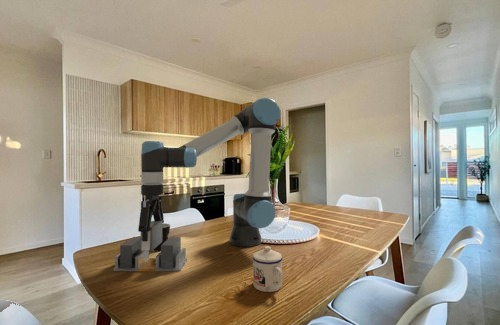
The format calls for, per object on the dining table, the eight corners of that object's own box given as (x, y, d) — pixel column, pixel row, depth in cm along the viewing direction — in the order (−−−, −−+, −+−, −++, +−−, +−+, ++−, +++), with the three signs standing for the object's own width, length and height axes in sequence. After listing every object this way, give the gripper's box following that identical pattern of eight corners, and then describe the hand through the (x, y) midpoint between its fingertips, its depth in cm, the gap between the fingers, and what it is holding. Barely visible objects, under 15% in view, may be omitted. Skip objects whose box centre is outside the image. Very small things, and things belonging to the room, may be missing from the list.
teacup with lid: (247, 282, 78) (247, 245, 78) (271, 276, 82) (271, 240, 82) (268, 301, 67) (268, 257, 67) (294, 292, 72) (294, 252, 72)
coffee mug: (163, 252, 104) (163, 228, 104) (144, 251, 106) (145, 227, 106) (177, 244, 115) (177, 222, 115) (160, 242, 117) (160, 221, 117)
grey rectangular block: (162, 241, 95) (162, 220, 96) (152, 250, 85) (152, 227, 86) (151, 241, 95) (151, 220, 96) (140, 250, 85) (140, 227, 86)
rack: (187, 260, 95) (187, 236, 96) (179, 271, 85) (180, 245, 86) (127, 260, 95) (127, 236, 95) (112, 271, 85) (112, 245, 85)
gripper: (153, 181, 102) (153, 236, 102) (126, 186, 79) (126, 256, 79) (172, 181, 102) (172, 236, 102) (150, 186, 79) (149, 256, 79)
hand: (152, 245), depth 90 cm, fingers closed on grey rectangular block, 10 cm apart
